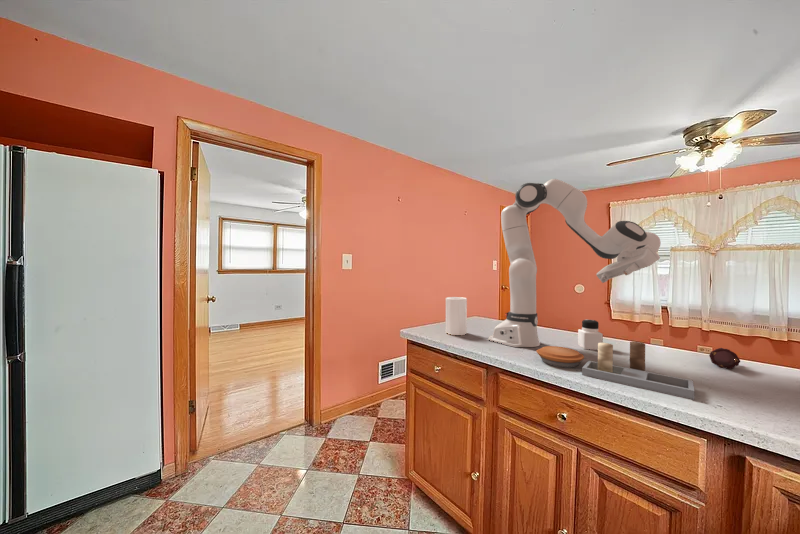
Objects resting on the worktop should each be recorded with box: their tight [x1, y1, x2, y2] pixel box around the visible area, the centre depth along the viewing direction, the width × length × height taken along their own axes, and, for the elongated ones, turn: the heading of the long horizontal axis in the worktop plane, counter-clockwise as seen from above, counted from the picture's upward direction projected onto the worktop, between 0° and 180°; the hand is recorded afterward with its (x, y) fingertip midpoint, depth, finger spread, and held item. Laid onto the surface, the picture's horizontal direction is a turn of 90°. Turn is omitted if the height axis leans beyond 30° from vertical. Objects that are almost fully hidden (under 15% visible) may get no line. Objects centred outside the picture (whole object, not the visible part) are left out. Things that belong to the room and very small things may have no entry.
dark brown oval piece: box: [708, 347, 741, 370], centre depth 105 cm, size 7×7×15 cm
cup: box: [445, 296, 468, 336], centre depth 156 cm, size 11×11×18 cm
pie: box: [535, 345, 585, 369], centre depth 110 cm, size 16×16×5 cm
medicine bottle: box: [577, 319, 604, 351], centre depth 130 cm, size 7×7×12 cm
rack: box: [581, 360, 695, 401], centre depth 92 cm, size 26×10×2 cm, turn 47°
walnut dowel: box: [629, 341, 646, 371], centre depth 99 cm, size 4×4×10 cm
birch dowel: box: [597, 342, 614, 373], centre depth 97 cm, size 4×4×10 cm
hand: (613, 277), depth 109 cm, fingers open, 8 cm apart
